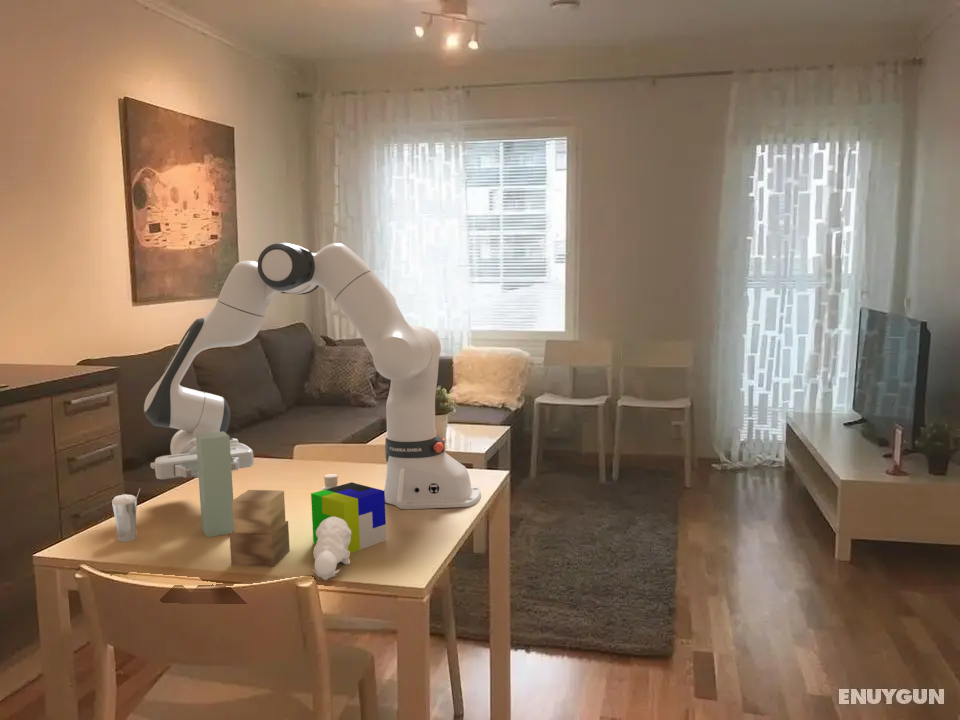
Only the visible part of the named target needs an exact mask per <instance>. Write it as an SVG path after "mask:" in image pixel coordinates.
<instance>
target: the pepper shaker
mask: <svg viewBox="0 0 960 720" xmlns="http://www.w3.org/2000/svg"><path fill="white" fill-rule="evenodd" d="M338 478H339V476H338V474H336V473H328V474H327V473H326V474H325V475H324V476H323V479H324V486H323V487H322V490H325V489H329V488H333V487H336V486H339V485H338V483H339V482H338ZM322 490H321V491H322Z"/></svg>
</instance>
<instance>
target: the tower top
mask: <svg viewBox="0 0 960 720" xmlns="http://www.w3.org/2000/svg"><path fill="white" fill-rule="evenodd" d="M285 505H286V504H285V490H279V489H277V490H275V489H274V490H273V489H267V490H266V489H248V490H246V491H244V492H243V493H241V494H240V495H238V496H237V497H236V498H233V500H232V507H233V524H234V533H258V534H271V533H272V532H274V531H275V530H276V529H277V528H278V527H280V526H281V525H282V524H283V523H284V522H286V521H287V520H286V508H285V507H286V506H285Z"/></svg>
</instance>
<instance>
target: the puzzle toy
mask: <svg viewBox="0 0 960 720" xmlns="http://www.w3.org/2000/svg"><path fill="white" fill-rule="evenodd" d="M310 501H311V503H310V504H311V522H312V539H313V541H312V543H313V544H315V545H316V544H317V540H318V538H317V536H316V530H317V528H318V527H319V525H320V523H321V522H322V521H323V520H325V519H327V518H329V517H338V518H340V519H343V520H344V521H345V522H346V523H347V525H348V527H349V529H350V530H351V541H350V544H349V546H348V550H349V551H350V554H351V553H355V552H356V551H360V550H364V549H367V548H368V547H372V546H373V545H377V544H380V543H383V542H386V541H387V523H386V521H387V520H386V502H385V491H384V489H380V488H375V487H371V486H368V485H362V484H360V483H355V482H353V481H352V482H351V481H350V482H348V483H345V484H341V485H337V486H336V487H333V488H329V489H325V490H319V491H315V492H312V493H310ZM348 550H347V551H348Z"/></svg>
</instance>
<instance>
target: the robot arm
mask: <svg viewBox="0 0 960 720" xmlns="http://www.w3.org/2000/svg"><path fill="white" fill-rule="evenodd" d="M319 287H320V288H321V289H323V290H324V292H326V293H327V295H328V296H329V297H330V298H331V299H332V301H333V302H334V303H335V304H336V306H338V309H340V310H341V311H342V313H343V314H344V315H345V316H346V318H347V319H348V320H349V321H350V323H351V324H352V325H353V326H354V328H355V329H356V330H357V332H358V335H360V338H361V339H362V341H363V342H364V344H365V346H366V348H367V350H368V351H369V353H370V355H371V356H372V363H373V366H374V368H375V370H376V371H377V373H379V375H380V376H382V377H383V378H384V379H387V380H390V387H389V391H388V396H387V400H386V404H385V411H386V412H385V413H386V414H385V415H386V437H385V438H384V439H385V443H384V451H385V453H384V456H385V460H386V475H385V484H384V489H383V490H384V491H385V503H387V504H389V505H392V506H396V507H397V508H398V509H401V510H419V509H420V510H421V509H441V508H442V509H443V508H445V509H446V508H465V507H467V508H468V507H471V506H473V505H475V504H477V503H478V501H480V498H481V496H482V495H481V490H480V488H479V487H477V486H475V485H472V483H471V477H470V474H469V472H468V471H469V470H468V469H467V467H466V466H465V465H463V464H462V463H460V462H459V461H457V460H456V459H454V458H453V457H452V456H451V455H449V454H448V453H446V452H445V451H446V438H445V437H442V438H441V437H440V436H438V435H437V433H436V432H437V431H436V394H437V393H436V392H437V385H438V379H439V377H438V376H439V364H440V356H441V352H442V344H441V341H440V339H439V337H438V335H437V334H436V333H435V332H434V331H432V330H431V329H430V328H427V327H424V326H421V325H412V326H410V325H409V323H408V322H407V320H406V319H405V317H404V316H403V313H402V311H401V310H400V308H399V306H398V304H397V300H396V299H395V296H394V295H393V294H392V293H391V291H390V290H389V289H388V287H386V286H385V284H384V283H383V282H382V281H381V280H380V278H379V277H378V275H376V273H375V272H374V271H373V270H372V269H371V267H369V265H368V264H367V263H366V262H365V261H364V260H363V259H362V258H361V257H360V256H359V255H357V254H356V253H355V252H354V250H352V249H351V248H349V247H348V246H347V245H345V244H344V243H341V242H333V243H330V244H327V245H325V246H324V247H323V248H321V249H320V250H318V251H317V252H313V251H312V250H310V249H307V248H305V247H303V246H302V245H298V244H294V243H290V242H281V241H280V242H275V243H272V244H269V245H268V246H266V247H265V248H264V249H263V250H262V251H261V252H260V253H259V257H258V259H257V261H255V260H248V259H247V260H241V261H238V262H237V263H236V264H235V265H234V266H233V268H231V271H230V272H229V274H228V276H227V278H226V279H225V281H224V284H223V286H222V288H221V290H220V293H219V295H218V298H217V301H216V303H215V305H214V307H213V308H212V310H210V312H209V313H208V314H207V315H205V316H204V317H201V318H200V317H199V318H197V319H195V320H194V321H193V322H192V323H191V324H190V326H189V327H188V329H187V330H186V332H185V334H183V335H184V336H183V337H182V338H181V340H180V341H179V344H178V345H177V346H176V349H175V351H174V352H173V354H172V356H171V358H170V359H169V361H168V363H167V365H166V366H165V367H164V369H163V371H162V373H161V374H160V376H159V378H158V380H156V382H155V384H154V385H153V387H152V388H151V389H150V391H149V393H148V394H147V395H146V398H145V401H144V404H143V414H144V416H145V417H146V419H147V420H148V421H149V422H150V423H151V424H152V426H154V427H161V428H168V429H169V428H171V429H176V430H177V432H176V433H175V434H174V435H173V436H172V438H171V440H170V445H169V446H170V454H169V455H168V454H167V455H161V456H158V457H156V458H155V460H154V462H150V465H149V466H150V468H151V469H153V470H154V472H155V477H156V479H158V480H168V479H175V478H182V477H183V478H191V477H192V478H195V479H199V475H198V460H197V445H196V435H197V434H205V433H214V432H222V431H224V432H225V433H226V434H227V432H228V430H229V426H230V422H231V410H230V407H229V404H228V402H227V400H226V399H225V397H224V396H220V395H217V394H213V393H210V392H206V391H200V390H197V389H193V388H188V387H186V386H183V385H181V382H182V380H183V378H184V376H185V375H186V374H187V371H188V370H189V368H190V366H191V364H192V363H193V361H194V359H195V358H196V356H197V355H199V353H201V352H203V351H206V350H208V349H213V348H214V349H215V348H224V347H225V348H226V347H227V348H228V347H237V346H241V345H244V344H247V343H248V342H250V341H252V340H253V339H255V337H256V336H257V335H258V333H259V332H260V329H261V327H262V325H263V323H264V320H265V317H266V315H267V311H268V308H269V306H270V303H271V301H272V299H273V298H274V297H275V296H276V295H277V294H279V293H281V294H289V295H290V294H291V295H308V294H311V293H313V292H314V291H316V290H317V289H318V288H319ZM230 453H231V470H232V472H233V471H234V472H235V471H238V470H239V469H245V468H251V467H253V466H254V464H255V463H254V459H255V458H254V457H255V456H254V451H253V449H252V448H251V447H249V446H248V445H246V444H245V443H242V442H239V439H238V438H231V437H230Z"/></svg>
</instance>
